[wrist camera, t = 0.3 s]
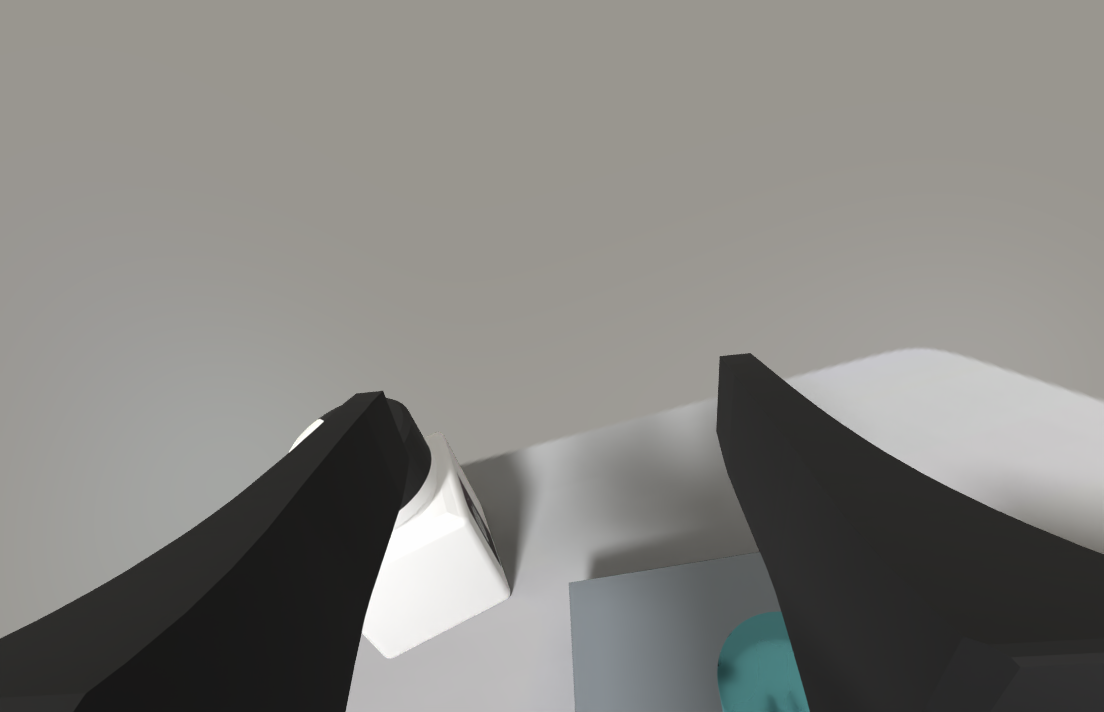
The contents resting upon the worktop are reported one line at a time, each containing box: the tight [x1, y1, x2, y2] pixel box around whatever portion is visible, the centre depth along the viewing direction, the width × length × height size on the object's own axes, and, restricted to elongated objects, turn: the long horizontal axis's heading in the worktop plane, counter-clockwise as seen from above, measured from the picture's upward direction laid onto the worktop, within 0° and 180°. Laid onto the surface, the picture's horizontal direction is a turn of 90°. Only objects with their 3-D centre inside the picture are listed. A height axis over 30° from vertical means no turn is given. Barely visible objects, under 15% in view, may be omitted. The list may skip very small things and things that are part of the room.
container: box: [289, 398, 510, 659], centre depth 30 cm, size 8×8×13 cm
